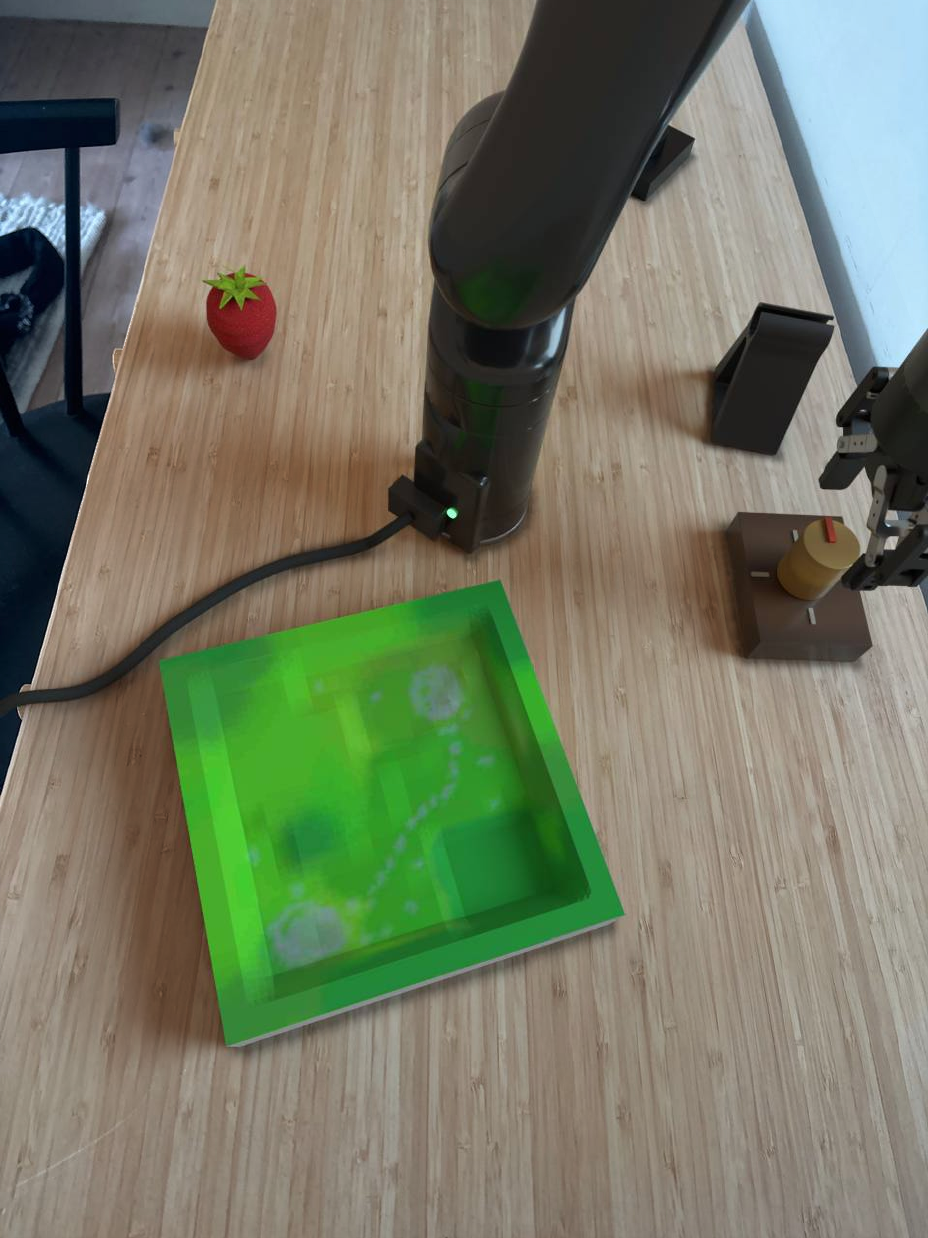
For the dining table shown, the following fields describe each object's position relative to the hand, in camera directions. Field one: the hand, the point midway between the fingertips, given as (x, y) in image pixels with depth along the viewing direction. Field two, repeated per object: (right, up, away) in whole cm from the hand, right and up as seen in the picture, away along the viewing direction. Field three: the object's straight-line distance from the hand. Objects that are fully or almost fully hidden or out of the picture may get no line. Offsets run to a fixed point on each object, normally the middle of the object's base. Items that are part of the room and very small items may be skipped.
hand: (842, 534), depth 64 cm
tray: (-34, -19, -2) cm, 39 cm away
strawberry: (-47, +18, +15) cm, 53 cm away
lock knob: (-1, -3, +5) cm, 6 cm away
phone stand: (-2, +13, +17) cm, 21 cm away
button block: (-10, +45, +32) cm, 56 cm away
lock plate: (-1, -4, +8) cm, 9 cm away
